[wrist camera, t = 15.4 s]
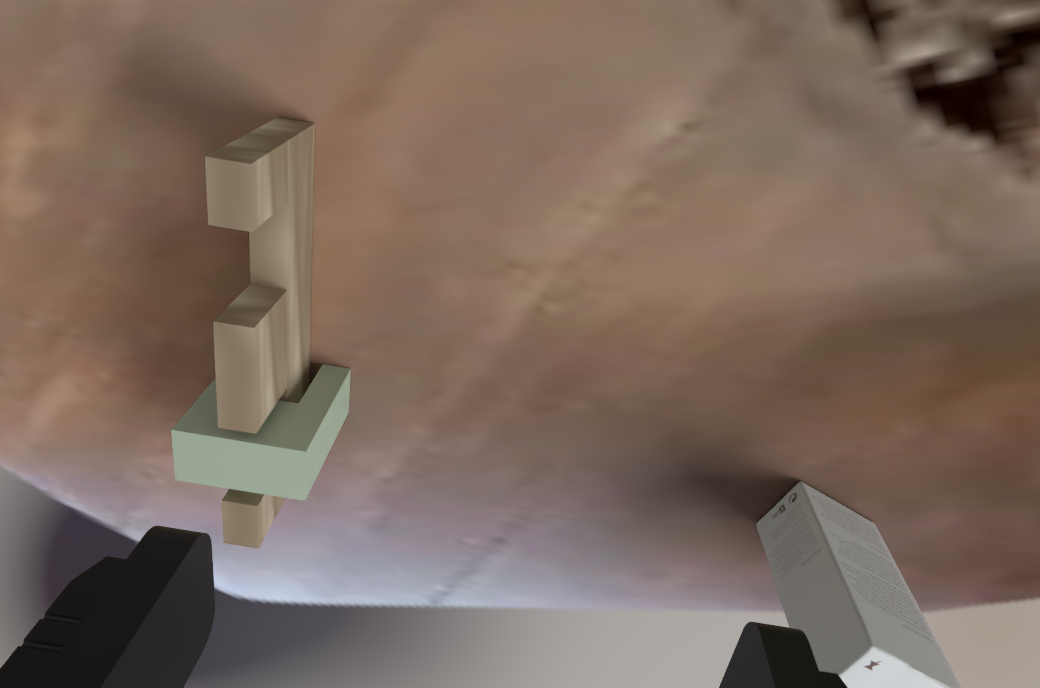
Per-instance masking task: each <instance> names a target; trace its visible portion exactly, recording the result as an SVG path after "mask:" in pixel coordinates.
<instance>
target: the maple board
mask: <svg viewBox="0 0 1040 688" xmlns="http://www.w3.org/2000/svg"><path fill="white" fill-rule="evenodd" d="M314 128H315V123H309V122H303V121H297V120H291V119H285V118H279V117H277V118H275V119H274V120H272V121H270V122H268V123H266V124H264V125H262V126H261V127H259V128H257V129H255V130H253V131H251V132H249V133H248V134H246V135H244V136H242V137H240V138H238V139H236V140H235V141H233V142H231V143H229V144H227V145H225V146H223V147H222V148H220V149H218V150H216V151H214V152H212V153H210V154H209V155H207V156H205V168H206V188H207V209H208V225H211V226H217V227H223V228H230V229H236V230H242V231H248V232H249V245H250V285H249V286H248V287H247V288H246V289H245V290H244V291H243V292H242V293H241V294H240V295H239V296H238V297H237V298H236V299H235V300H234V301H233V302H232V303H231V304H230V305H229V306H228V307H227V308H226V309H225V310H224V311H223V312H222V313H221V314H220V315H219V316H218V317H217V318H216V319H215V320H214V321H213V332H214V353H215V373H216V394H217V414H218V428H223V429H229V430H236V431H242V432H248V433H254V434H257V432H258V431H259V429H260V428H261V426H262V425H263V423H264V422H265V420H266V419H267V417H268V416H269V414H270V413H271V411H272V410H273V408H274V407H275V405H276V404H277V402H278V401H279V400H281V401H287V402H293V403H299V402H300V401H301V399H302V397H303V396H304V394H305V392H306V391H307V389H308V387H309V375H310V326H311V276H312V227H313V178H314ZM284 500H285V498H284V497H277V496H271V495H265V494H259V493H253V492H246V491H240V490H234V489H229V490H228V492H227V493H226V495H225V496H224V498H223V499H222V517H223V537H224V543H227V544H233V545H240V546H246V547H252V548H259V547H260V545H261V543H262V541H263V539H264V537H265V536H266V534H267V532H268V530H269V528H270V526H271V524H272V522H273V520H274V519H275V517H276V515H277V513H278V511H279V509H280V507H281V505H282V504H283V502H284Z"/></svg>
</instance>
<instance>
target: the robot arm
mask: <svg viewBox="0 0 1040 688" xmlns="http://www.w3.org/2000/svg"><path fill="white" fill-rule="evenodd" d="M214 614H215V595H214V578H213V561H212V544H211V539H210V536H209V535H208V534H207V533H200V532H194V531H188V530H181V529H175V528H169V527H163V526H154V527H152V528H151V529H150V530H149V531H148V532H147V533H146V534H145V535H144V536H143V538H142V539H141V540H140V542H139V543H138V545H137V546H136V547H135V549H134V550H133V551H132V553H131V554H130V556H129V557H128V558H127V559H120V558H114V557H108V556H107V557H105V558H104V559H103V560H101V561H100V562H98V563H97V564H95V565H94V566H92V567H91V568H90V569H88V570H86V571H85V572H83V573H82V574H81V575H79V576H78V577H76V578H75V579H73V580H72V581H70V583H69V584H68V585H67V586H66V588H65V589H64V590H63V591H62V593H61V594H60V595H59V596H58V598H57V599H56V600H55V601H54V603H53V604H52V605H51V606H50V608H49V609H48V610H47V611H46V613H45V617H44V619H43V620H42V619H40V620H39V621H38V623H37V624H36V625H35V626H34V627H33V629H32V630H31V631H30V632H29V634H28V635H27V636H26V637H25V639H24V643H23V645H22V646H21V647H20V646H18V647H17V649H16V650H15V651H14V652H13V653H12V655H11V656H10V657H9V659H8V660H7V661H6V662H5V664H4V665H3V666H2V667H1V668H0V688H184V686H185V684H186V682H187V680H188V678H189V676H190V674H191V672H192V671H193V669H194V667H195V665H196V663H197V661H198V660H199V658H200V656H201V654H202V652H203V650H204V648H205V646H206V643H207V641H208V638H209V635H210V632H211V628H212V624H213V620H214ZM719 688H848V687H847V686H846V685H845V683H844V682H843V681H842V679H841V678H840V677H839V675H838V674H836V673H830V672H823V671H819V669H818V666H817V663H816V660H815V658H814V655H813V652H812V649H811V646H810V643H809V641H808V638H807V636H806V635H805V633H804V632H803V631H802V630H800V629H794V628H787V627H781V626H774V625H767V624H762V623H756V622H749V623H747V624H746V626H745V627H744V629H743V631H742V634H741V636H740V638H739V641H738V643H737V646H736V648H735V650H734V653H733V655H732V658H731V660H730V662H729V665H728V667H727V670H726V672H725V674H724V677H723V680H722V682H721V684H720V687H719Z"/></svg>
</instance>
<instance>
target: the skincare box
mask: <svg viewBox="0 0 1040 688" xmlns="http://www.w3.org/2000/svg"><path fill="white" fill-rule="evenodd" d="M756 527H757V530H758V533H759V536H760V539H761V542H762V545H763V548H764V551H765V554H766V557H767V560H768V563H769V566H770V569H771V572H772V575H773V579H774V582H775V585H776V588H777V591H778V594H779V597H780V600H781V603H782V606H783V609H784V612H785V615H786V618H787V621H788V624H789V627H790V628H794V629H800V630H802V631H803V632H804V633H805V635H806V636H807V638H808V641H809V643H810V646H811V649H812V652H813V655H814V658H815V660H816V663H817V666H818V669H819V671H823V672H830V673H836V674H838V675H839V677H840V678H841V679H842V681H843V682H844V683H845V685H846V686H847V687H848V688H961V686H960V684H959V682H958V681H957V679H956V677H955V675H954V673H953V671H952V669H951V667H950V665H949V663H948V662H947V659H946V658H945V656H944V654H943V652H942V650H941V648H940V646H939V645H938V643H937V641H936V639H935V637H934V635H933V633H932V631H931V630H930V627H929V626H928V624H927V622H926V620H925V618H924V616H923V614H922V612H921V610H920V608H919V606H918V604H917V603H916V601H915V599H914V597H913V595H912V593H911V591H910V590H909V588H908V586H907V584H906V582H905V580H904V578H903V576H902V574H901V573H900V571H899V569H898V567H897V565H896V563H895V561H894V559H893V557H892V556H891V554H890V552H889V550H888V548H887V546H886V544H885V542H884V540H883V538H882V537H881V535H880V533H879V531H878V529H877V527H876V525H875V524H874V523H873V522H871V521H869V520H868V519H866V518H864V517H862V516H861V515H859V514H857V513H855V512H854V511H852V510H850V509H848V508H847V507H845V506H843V505H842V504H840V503H838V502H836V501H835V500H833V499H831V498H829V497H827V496H826V495H824V494H822V493H821V492H819V491H817V490H815V489H814V488H812V487H810V486H809V485H807V484H805V483H804V482H799V483H798V484H797V485H796V486H794V487H793V488H792V489H791V490H790V491H789V492H788V493H787V494H786V495H785V496H784V497H783V498H782V499H781V500H780V501H779V502H778V503H777V504H776V505H775V506H774V507H773V508H772V509H771V510H770V511H769V512H768V513H767V514H766V515H765V516H764V517H762V518H761V519H760V520H759V521H758V522H757V524H756Z"/></svg>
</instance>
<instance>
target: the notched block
mask: <svg viewBox="0 0 1040 688" xmlns="http://www.w3.org/2000/svg"><path fill="white" fill-rule="evenodd" d="M350 374H351V369H350V368H343V367H337V366H331V365H325V364H323V365H322V366H321V368H320V370H319V371H318V373H317V374H316V376H315V378H314V379H313V381H312V383H311V384H310V386H309V387H308V389H307V391H306V392H305V394H304V396H303V397H302V399H301V401H300V402H299V403H293V402H287V401H281V400H279V401H278V402H277V404H276V405H275V407H274V408H273V410H272V411H271V413H270V414H269V416H268V417H267V419H266V420H265V422H264V423H263V425H262V426H261V428H260V429H259V431H258V432H257V434H254V433H248V432H242V431H236V430H229V429H223V428H218V414H217V394H216V378H215V379H214V380H213V381H212V383H211V384H210V385H209V386H208V387H207V388H206V390H205V391H204V392H203V393H202V394H201V395H200V397H199V398H198V399H197V400H196V401H195V403H194V404H193V405H192V406H191V407H190V408H189V410H188V411H187V412H186V413H185V414H184V415H183V417H182V418H181V419H180V420H179V421H178V423H177V424H176V425H175V426H174V427H173V428H172V430H171V433H172V445H173V457H174V470H175V480H178V481H184V482H191V483H197V484H203V485H209V486H215V487H222V488H228V489H234V490H240V491H246V492H253V493H259V494H265V495H271V496H277V497H284V498H290V499H296V500H302V501H305V500H306V498H307V496H308V494H309V492H310V490H311V488H312V486H313V484H314V481H315V479H316V477H317V475H318V473H319V471H320V469H321V467H322V465H323V463H324V461H325V459H326V457H327V455H328V453H329V451H330V449H331V447H332V445H333V443H334V441H335V439H336V437H337V435H338V433H339V431H340V429H341V427H342V425H343V423H344V421H345V419H346V417H347V415H348V412H349V393H350Z"/></svg>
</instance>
